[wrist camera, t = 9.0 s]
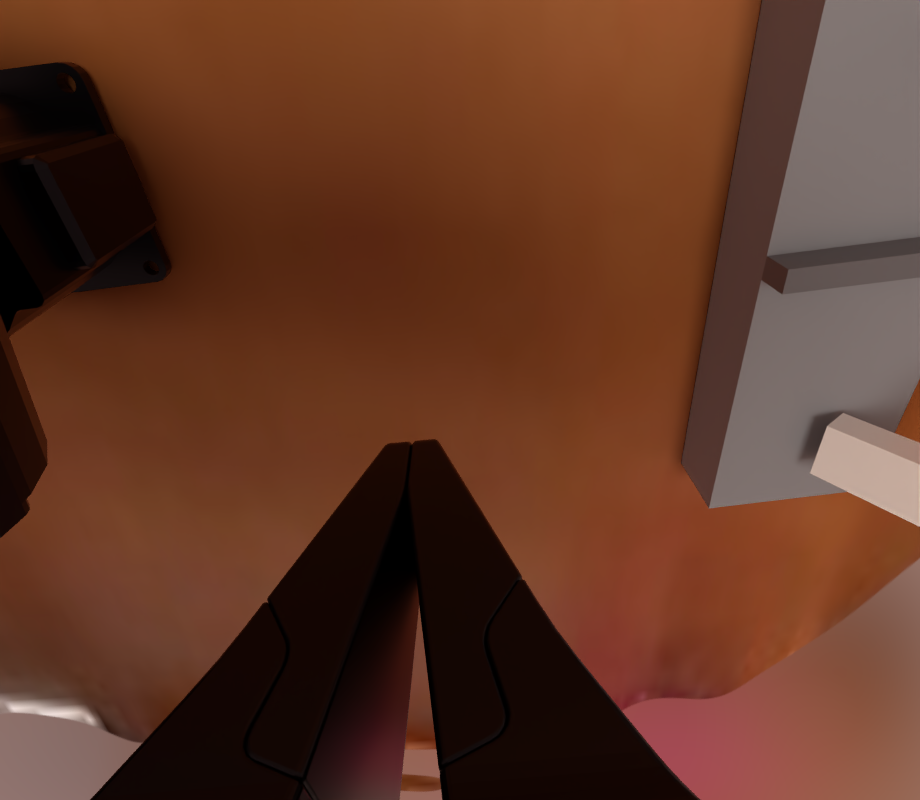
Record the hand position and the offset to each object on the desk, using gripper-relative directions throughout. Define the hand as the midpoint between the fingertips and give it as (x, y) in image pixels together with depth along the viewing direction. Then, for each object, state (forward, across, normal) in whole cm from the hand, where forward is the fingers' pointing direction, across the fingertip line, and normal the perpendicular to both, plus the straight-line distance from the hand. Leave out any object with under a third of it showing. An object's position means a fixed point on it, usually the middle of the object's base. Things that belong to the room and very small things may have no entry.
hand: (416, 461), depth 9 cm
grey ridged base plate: (+12, -14, +1) cm, 19 cm away
